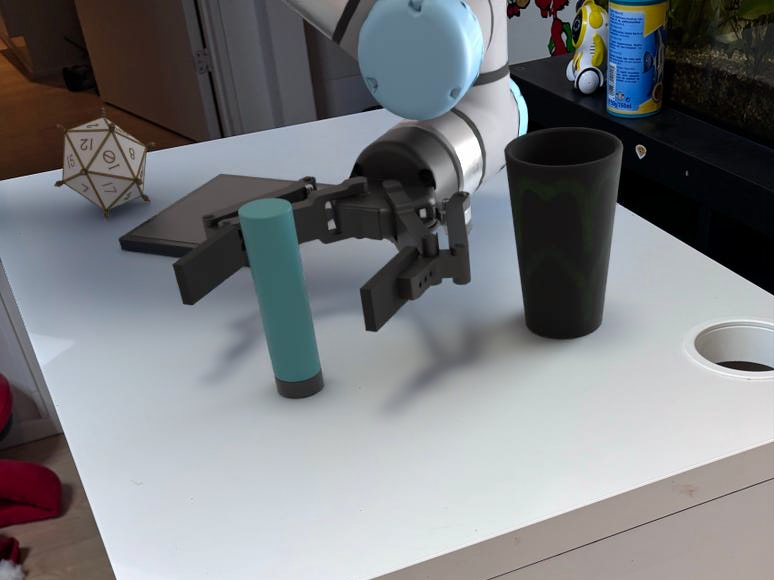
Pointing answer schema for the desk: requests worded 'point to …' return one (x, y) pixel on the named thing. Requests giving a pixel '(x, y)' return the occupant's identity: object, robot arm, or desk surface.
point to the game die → (104, 163)
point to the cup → (563, 225)
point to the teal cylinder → (282, 295)
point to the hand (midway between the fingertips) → (271, 297)
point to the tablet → (198, 214)
